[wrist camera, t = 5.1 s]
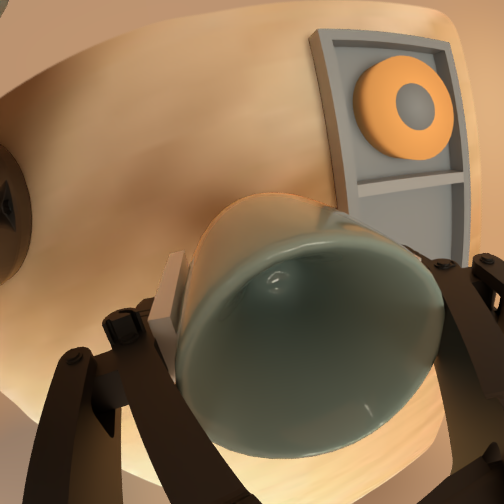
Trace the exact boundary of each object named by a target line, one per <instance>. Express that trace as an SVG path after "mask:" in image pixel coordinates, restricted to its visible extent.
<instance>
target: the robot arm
mask: <svg viewBox="0 0 504 504" xmlns="http://www.w3.org/2000/svg"><path fill="white" fill-rule="evenodd" d="M8 1H9V0H0V17H1V15H2V14H3V12H4V10H5V8H6V6H7V4H8ZM30 236H31V206H30V199H29V194H28V190H27V186H26V183H25V180H24V177H23V174H22V172H21V170H20V168H19V166H18V164H17V162H16V161H15V159H14V158H13V156H12V155H11V154H10V153H9V152H8V150H7V149H5V148H4V147H3V146H2V145H0V285H2V284H3V283H4V282H6V281H7V280H8V279H10V278H11V277H12V276H13V275H14V274H15V273H16V272H17V271H18V270H19V268H20V267H21V265H22V263H23V261H24V259H25V257H26V254H27V251H28V247H29V242H30ZM401 245H402V244H401ZM403 246H404V247H405V248H407V249H408V250H409V251H411V252H412V253H413V254H414V255H415V256H416V257H417V258H418V259H419V260H420V261H421V262H422V263H423V264H424V265H425V266H426V267H427V268H428V269H429V271H430V272H431V273H432V275H433V277H434V278H435V280H436V282H437V284H438V286H439V288H440V289H441V293H442V297H443V302H444V307H445V319H444V325H443V330H442V336H441V341H440V346H439V351H438V354H437V357H436V359H435V361H434V366H435V370H436V374H437V378H438V382H439V386H440V391H441V395H442V400H443V404H444V409H445V414H446V420H447V425H448V431H449V437H450V443H451V450H452V457H453V465H452V470H451V475H450V476H448V477H447V478H446V479H445V480H444V481H443V482H441V483H440V484H439V485H438V486H437V487H436V488H435V489H434V490H432V491H431V492H430V493H429V494H428V495H427V496H425V497H424V498H423V499H422V500H421V501H419V502H418V503H417V504H504V261H503V260H501V259H500V258H498V257H496V256H494V255H491V254H489V253H483V254H477V255H475V256H474V257H473V262H472V267H466V268H461V267H460V266H459V264H458V263H456V262H455V261H453V260H450V259H444V258H439V259H433V260H431V259H429V258H427V257H425V256H424V255H422V254H419V252H417V251H414V250H413V249H412V248H410V247H408V246H406V245H403ZM188 269H189V267H188V263H187V259H186V255H185V251H184V250H183V251H178V252H174V253H170V254H169V257H168V260H167V263H166V266H165V269H164V272H163V275H162V277H161V280H160V283H159V286H158V289H157V292H156V295H155V297H153V298H148V299H143V300H142V301H141V302H140V303H139V304H138V305H137V307H136V309H135V308H124V309H120V310H117V311H115V312H113V313H111V314H109V315H108V316H107V317H105V319H104V320H103V322H102V326H103V328H104V331H105V333H106V335H107V338H108V340H109V342H110V344H111V347H112V350H110V351H108V352H105V353H102V354H99V355H96V356H93V354H92V352H91V350H90V349H89V348H86V347H77V348H74V349H71V350H70V351H67V352H66V353H65V354H64V355H63V356H62V357H61V358H60V360H59V362H58V364H57V367H56V370H55V373H54V376H53V379H52V382H51V385H50V388H49V391H48V394H47V397H46V401H45V404H44V407H43V411H42V414H41V418H40V421H39V425H38V429H37V433H36V436H35V440H34V445H33V449H32V453H31V458H30V463H29V467H28V472H27V477H26V483H25V489H24V495H23V502H22V504H123V496H122V476H121V407H123V406H126V405H129V406H130V409H131V412H132V414H133V417H134V420H135V423H136V425H137V428H138V431H139V433H140V436H141V438H142V441H143V443H144V446H145V448H146V451H147V453H148V455H149V458H150V460H151V462H152V465H153V467H154V469H155V471H156V474H157V476H158V478H159V480H160V482H161V484H162V486H163V488H164V491H165V493H166V495H167V497H168V499H169V501H170V503H171V504H262V503H261V502H260V501H259V500H258V499H257V498H256V497H255V496H254V495H253V494H251V493H250V492H249V491H248V490H247V489H246V488H245V487H244V486H243V484H242V483H241V482H240V480H239V479H238V478H237V476H236V475H235V474H234V472H233V471H232V470H231V468H230V467H229V466H228V464H227V463H226V462H225V460H224V459H223V457H222V456H221V455H220V453H219V452H218V450H217V449H216V447H215V446H214V445H213V443H212V442H211V440H210V439H209V437H208V436H207V434H206V433H205V431H204V430H203V428H202V427H201V425H200V424H199V422H198V421H197V419H196V417H195V416H194V414H193V413H192V411H191V410H190V408H189V406H188V405H187V403H186V401H185V400H184V398H183V397H182V395H181V393H180V392H179V390H178V388H177V387H176V385H175V343H176V335H177V327H178V320H179V314H180V307H181V302H182V296H183V291H184V287H185V282H186V278H187V274H188ZM496 292H497V293H498V294H499V296H500V297H501V298H500V302H499V307H498V309H496V308H495V307H494V302H495V297H496Z"/></svg>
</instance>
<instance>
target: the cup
mask: <svg viewBox="0 0 504 504" xmlns="http://www.w3.org/2000/svg"><path fill="white" fill-rule="evenodd" d="M444 319H445V307H444V302H443V297H442V293H441V289H440V288H439V286H438V284H437V282H436V280H435V278H434V277H433V275H432V273H431V272H430V271H429V269H428V268H427V267H426V266H425V265H424V264H423V263H422V262H421V261H420V260H419V259H418V258H417V257H416V256H415V255H414V254H413V253H412V252H411V251H409V250H408V249H407V248H405V247H404V246H403V245H401V244H399V243H398V242H396V241H395V240H393V239H391V238H390V237H388V236H386V235H385V234H383V233H381V232H379V231H378V230H376V229H374V228H373V227H371V226H369V225H367V224H365V223H364V222H362V221H360V220H358V219H356V218H354V217H352V216H350V215H348V214H346V213H344V212H342V211H340V210H338V209H336V208H334V207H332V206H329V205H327V204H324V203H322V202H319V201H316V200H312V199H309V198H306V197H303V196H299V195H295V194H287V193H278V192H269V193H258V194H253V195H250V196H247V197H244V198H241V199H239V200H237V201H235V202H234V203H232V204H230V205H229V206H227V207H226V208H224V209H223V210H222V211H221V212H220V213H219V214H218V215H217V216H216V217H215V218H214V219H213V220H212V222H211V223H210V225H209V226H208V228H207V229H206V231H205V232H204V234H203V235H202V237H201V238H200V241H199V243H198V245H197V248H196V250H195V252H194V254H193V257H192V259H191V262H190V266H189V269H188V274H187V278H186V282H185V287H184V291H183V296H182V302H181V307H180V314H179V320H178V327H177V335H176V343H175V385H176V387H177V388H178V390H179V392H180V393H181V395H182V397H183V398H184V400H185V401H186V403H187V405H188V406H189V408H190V410H191V411H192V413H193V414H194V416H195V417H196V419H197V421H198V422H199V424H200V425H201V427H202V428H203V430H204V431H205V433H206V434H207V436H208V437H209V439H210V440H211V442H213V443H215V444H217V445H219V446H222V447H224V448H226V449H228V450H230V451H234V452H237V453H241V454H244V455H248V456H253V457H261V458H269V459H296V458H304V457H312V456H317V455H321V454H325V453H329V452H333V451H336V450H339V449H341V448H344V447H346V446H349V445H351V444H354V443H356V442H357V441H359V440H361V439H363V438H365V437H366V436H368V435H370V434H372V433H373V432H374V431H376V430H377V429H378V428H380V427H381V426H383V425H384V424H385V423H386V422H388V421H389V420H390V419H391V418H392V417H393V416H394V415H395V414H397V413H398V412H399V411H400V410H401V409H402V408H403V407H404V406H405V405H406V403H407V402H408V401H409V400H410V399H411V397H412V396H413V395H414V394H415V393H416V391H417V390H418V389H419V387H420V386H421V384H422V383H423V381H424V379H425V378H426V376H427V375H428V373H429V371H430V370H431V367H432V365H433V363H434V361H435V359H436V357H437V354H438V351H439V346H440V341H441V336H442V330H443V325H444Z"/></svg>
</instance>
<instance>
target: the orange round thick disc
mask: <svg viewBox="0 0 504 504" xmlns="http://www.w3.org/2000/svg"><path fill="white" fill-rule="evenodd" d="M353 111H354V116H355V119H356V122H357V125H358V127H359V129H360V131H361V133H362V134H363V136H364V137H365V139H366V140H367V141H368V142H369V143H370V144H371V145H372V146H373V147H374V148H375V149H376V150H378V151H379V152H381V153H383V154H384V155H387V156H389V157H393V158H401V159H412V160H426V159H430V158H432V157H434V156H436V155H438V154H439V153H440V152H441V151H442V150H443V149H444V148H445V146H446V145H447V143H448V141H449V139H450V137H451V134H452V130H453V122H454V113H453V106H452V102H451V98H450V95H449V93H448V90H447V88H446V86H445V84H444V83H443V81H442V80H441V78H440V77H439V76H438V74H437V73H436V72H435V71H434V70H433V69H432V68H431V67H430V66H428V65H427V64H426V63H424V62H422V61H421V60H418V59H416V58H413V57H410V56H394V57H391V58H388V59H386V60H384V61H382V62H380V63H377V64H375V65H373V66H371V67H370V68H368V69H366V70H365V71H364V72H363V73H362V74H361V76H360V77H359V79H358V81H357V82H356V85H355V88H354V92H353Z"/></svg>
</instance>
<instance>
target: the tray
mask: <svg viewBox="0 0 504 504" xmlns="http://www.w3.org/2000/svg"><path fill="white" fill-rule="evenodd" d="M309 42H310V46H311V51H312V55H313V60H314V64H315V69H316V74H317V79H318V83H319V89H320V94H321V99H322V104H323V110H324V115H325V121H326V127H327V133H328V140H329V146H330V153H331V160H332V167H333V174H334V182H335V190H336V199H337V208H338V210H340V211H342V212H344V213H346V214H348V215H350V216H352V217H354V218H356V219H358V220H360V221H362V222H364V223H365V224H367V225H369V226H371V227H373V228H374V229H376V230H378V231H379V232H381V233H383V234H385V235H386V236H388V237H390V238H391V239H393V240H395V241H396V242H398V243H399V244H402V245H406V246H408V247H410V248H412V249H413V250H414V251H417V252H419V254H422V255H424V256H425V257H427V258H429V259H431V260H433V259H439V258H444V259H450V260H453V261H455V262H456V263H458V264H459V266H460V267H461V268H466V267H468V260H469V246H470V223H471V187H470V165H469V151H468V140H467V131H466V123H465V116H464V109H463V103H462V97H461V91H460V86H459V81H458V76H457V72H456V67H455V63H454V59H453V55H452V51H451V47H450V43H449V42H444V41H440V40H435V39H429V38H424V37H418V36H411V35H404V34H397V33H388V32H379V31H367V30H350V29H317V30H316V31H315V32H314V33H313V34H312V35H311V37H310V38H309ZM394 56H410V57H413V58H416V59H418V60H421V61H422V62H424V63H426V64H427V65H428V66H430V67H431V68H432V69H433V70H434V71H435V72H436V73H437V74H438V76H439V77H440V78H441V80H442V81H443V83H444V84H445V86H446V88H447V90H448V93H449V95H450V98H451V102H452V106H453V113H454V122H453V130H452V134H451V137H450V139H449V141H448V143H447V145H446V146H445V148H444V149H443V150H442V151H441V152H440V153H439V154H438V155H436V156H434V157H432V158H430V159H426V160H412V159H401V158H393V157H389V156H387V155H384V154H383V153H381V152H379V151H378V150H376V149H375V148H374V147H373V146H372V145H371V144H370V143H369V142H368V141H367V140H366V139H365V137H364V136H363V134H362V133H361V131H360V129H359V127H358V125H357V122H356V119H355V116H354V111H353V92H354V88H355V85H356V82H357V81H358V79H359V77H360V76H361V74H362V73H363V72H364V71H365V70H366V69H368V68H370V67H371V66H373V65H375V64H377V63H380V62H382V61H384V60H386V59H388V58H391V57H394Z"/></svg>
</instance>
